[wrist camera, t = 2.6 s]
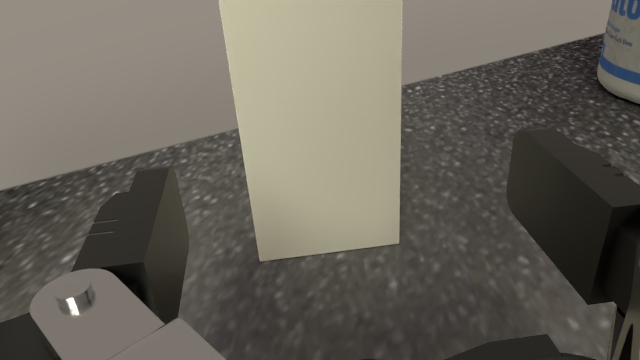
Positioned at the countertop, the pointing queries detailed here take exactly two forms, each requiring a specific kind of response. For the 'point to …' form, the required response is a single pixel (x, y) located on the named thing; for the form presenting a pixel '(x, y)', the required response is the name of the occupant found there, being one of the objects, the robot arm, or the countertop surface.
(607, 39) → the supplement tub
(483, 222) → the countertop surface
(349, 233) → the cover
